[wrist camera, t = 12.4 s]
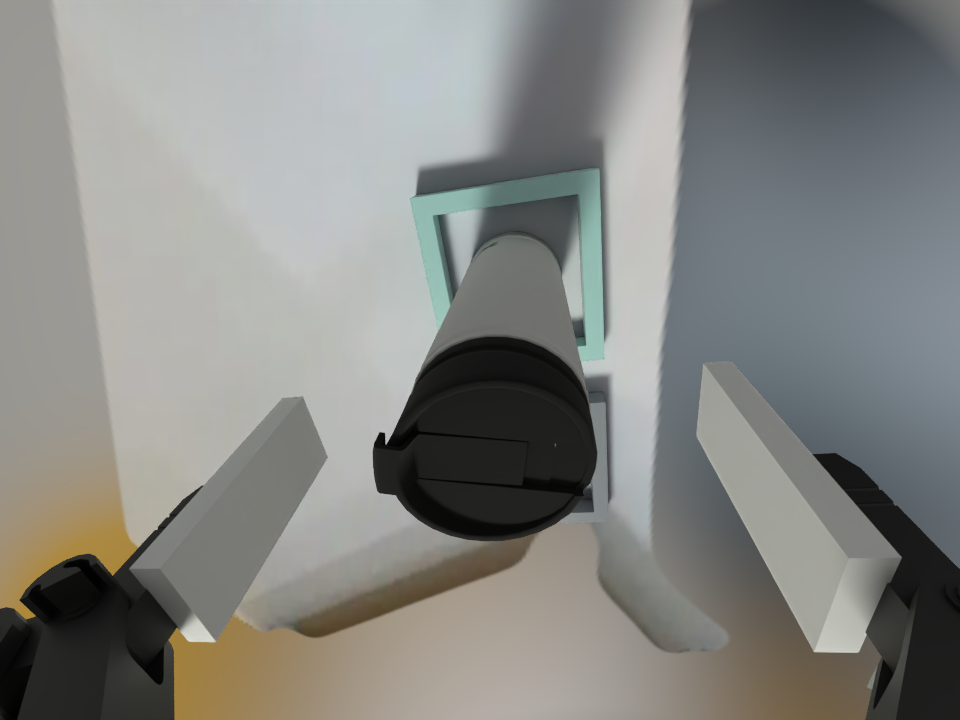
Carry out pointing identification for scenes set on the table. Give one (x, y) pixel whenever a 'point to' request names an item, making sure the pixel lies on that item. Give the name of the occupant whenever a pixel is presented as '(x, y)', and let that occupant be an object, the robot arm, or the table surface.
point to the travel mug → (496, 405)
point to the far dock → (599, 484)
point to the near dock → (511, 193)
